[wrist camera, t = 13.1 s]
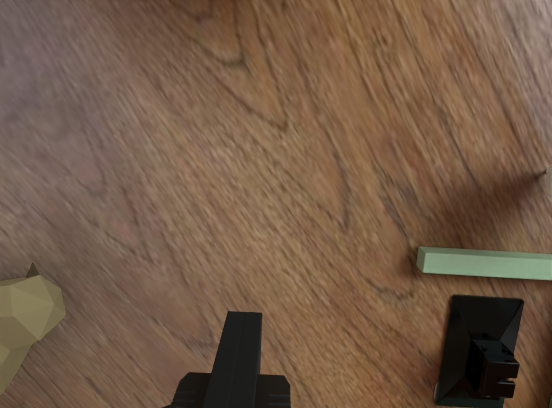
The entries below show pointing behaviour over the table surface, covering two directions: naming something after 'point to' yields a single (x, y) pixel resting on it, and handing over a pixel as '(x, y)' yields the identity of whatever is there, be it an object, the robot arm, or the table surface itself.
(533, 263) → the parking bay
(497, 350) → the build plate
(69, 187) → the table surface
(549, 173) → the spinning top
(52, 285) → the tan faceted lump
